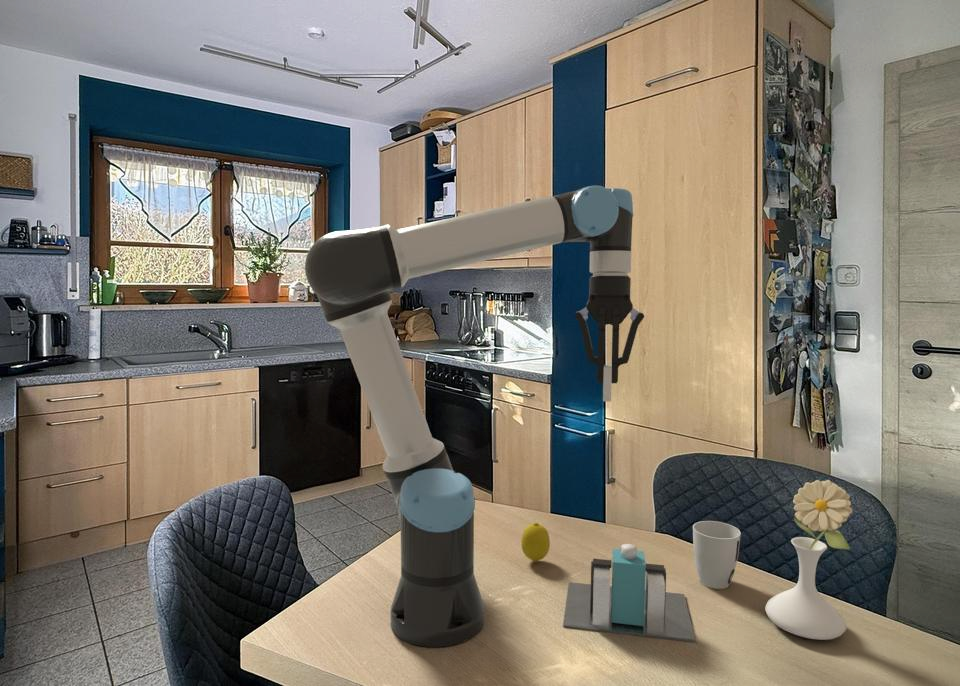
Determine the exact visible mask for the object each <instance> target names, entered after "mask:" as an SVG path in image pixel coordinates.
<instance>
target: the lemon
mask: <svg viewBox="0 0 960 686" xmlns="http://www.w3.org/2000/svg"><path fill="white" fill-rule="evenodd" d="M550 541H551V540H550V534H549V532H548V530H547V528H546V527H545V526H544V525H542V524H540V523H538V522H533V523H531V524H529V525H527V526H525V528H524V530H523V533H522V536H521V544H520V545H521V549H522V550H521V551H522V552H523V554H524V555H525V557H526V558H528V559H529V560H531V561H533V563H538V562H539V561H540V560H543V559H544V558H546V556H547V555H548V553H549V550H550V546H551V545H550V543H551V542H550Z"/></svg>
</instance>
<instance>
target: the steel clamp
mask: <svg viewBox="0 0 960 686" xmlns="http://www.w3.org/2000/svg"><path fill="white" fill-rule="evenodd" d="M611 569H612V560H611V559H602V558H592V561H590V583H584V582H583V583H581V582H571V581H569V582H568V585H567V593H566V600H565V607H564V608H565V609H564V616H563V623H562V627H563V628H564V627H565V628H572V629H579V630H588V631H597V632H604V633H613V634H614V633H615V634H621V635H622V634H623V635H629V636H637V637H638V636H639V637H646V638H647V637H648V638H655V639H665V640H671V641H672V640H673V641H680V642H689V643H696V638H695V633H694V629H693V626H692V621H691V617H690V612H689V609H688V605H687V600H686V596H685V593H678V592H677V593H676V592H668V591H667V589H666V588H667V571H666V568H665V565H663V564H656V563H655V564H654V563H646V574H645V606H644V626H638V625H629V624H620V623H612V622H611V596H612V585H611Z"/></svg>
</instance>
